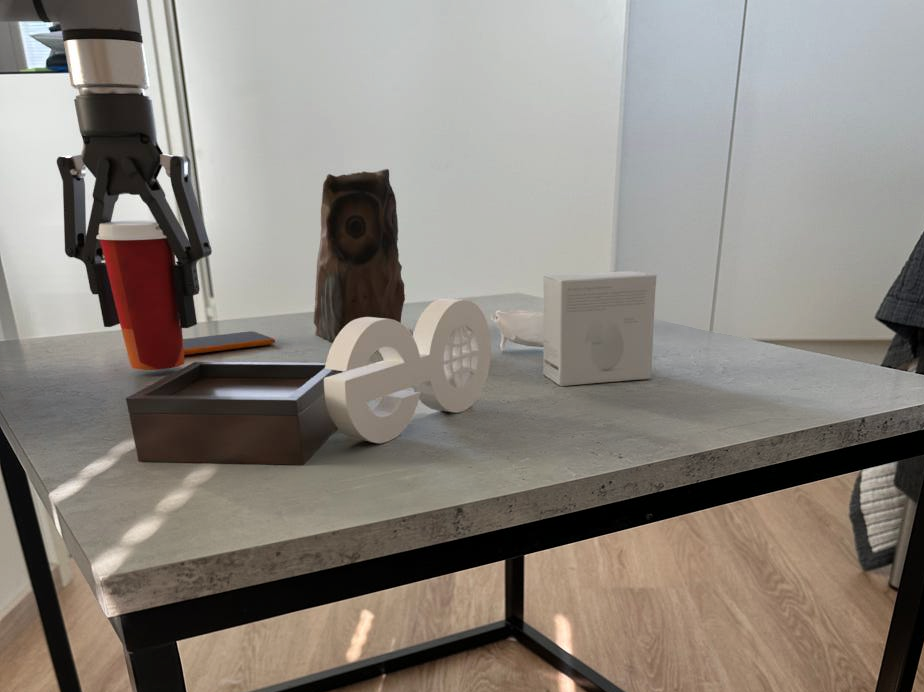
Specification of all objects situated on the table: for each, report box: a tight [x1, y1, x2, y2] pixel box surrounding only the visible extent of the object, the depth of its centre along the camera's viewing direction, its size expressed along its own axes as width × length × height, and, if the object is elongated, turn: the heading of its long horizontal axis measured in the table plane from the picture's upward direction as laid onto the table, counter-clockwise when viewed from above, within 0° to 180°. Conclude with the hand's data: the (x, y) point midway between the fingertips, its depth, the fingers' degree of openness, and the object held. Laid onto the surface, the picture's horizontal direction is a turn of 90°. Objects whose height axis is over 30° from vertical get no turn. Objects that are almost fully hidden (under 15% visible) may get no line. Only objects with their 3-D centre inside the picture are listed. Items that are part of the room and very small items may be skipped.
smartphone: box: [183, 330, 276, 356], centre depth 118 cm, size 8×17×1 cm, turn 125°
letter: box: [324, 297, 492, 444], centre depth 82 cm, size 22×2×10 cm, turn 148°
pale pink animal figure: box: [490, 309, 544, 354], centre depth 112 cm, size 5×7×10 cm
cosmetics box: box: [542, 270, 658, 387], centre depth 98 cm, size 10×6×10 cm, turn 104°
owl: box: [313, 168, 406, 344], centre depth 118 cm, size 13×13×20 cm
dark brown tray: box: [125, 361, 343, 466], centre depth 80 cm, size 14×14×5 cm
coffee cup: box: [96, 219, 185, 371], centre depth 103 cm, size 8×8×15 cm
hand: (150, 325), depth 104 cm, fingers closed on coffee cup, 8 cm apart
